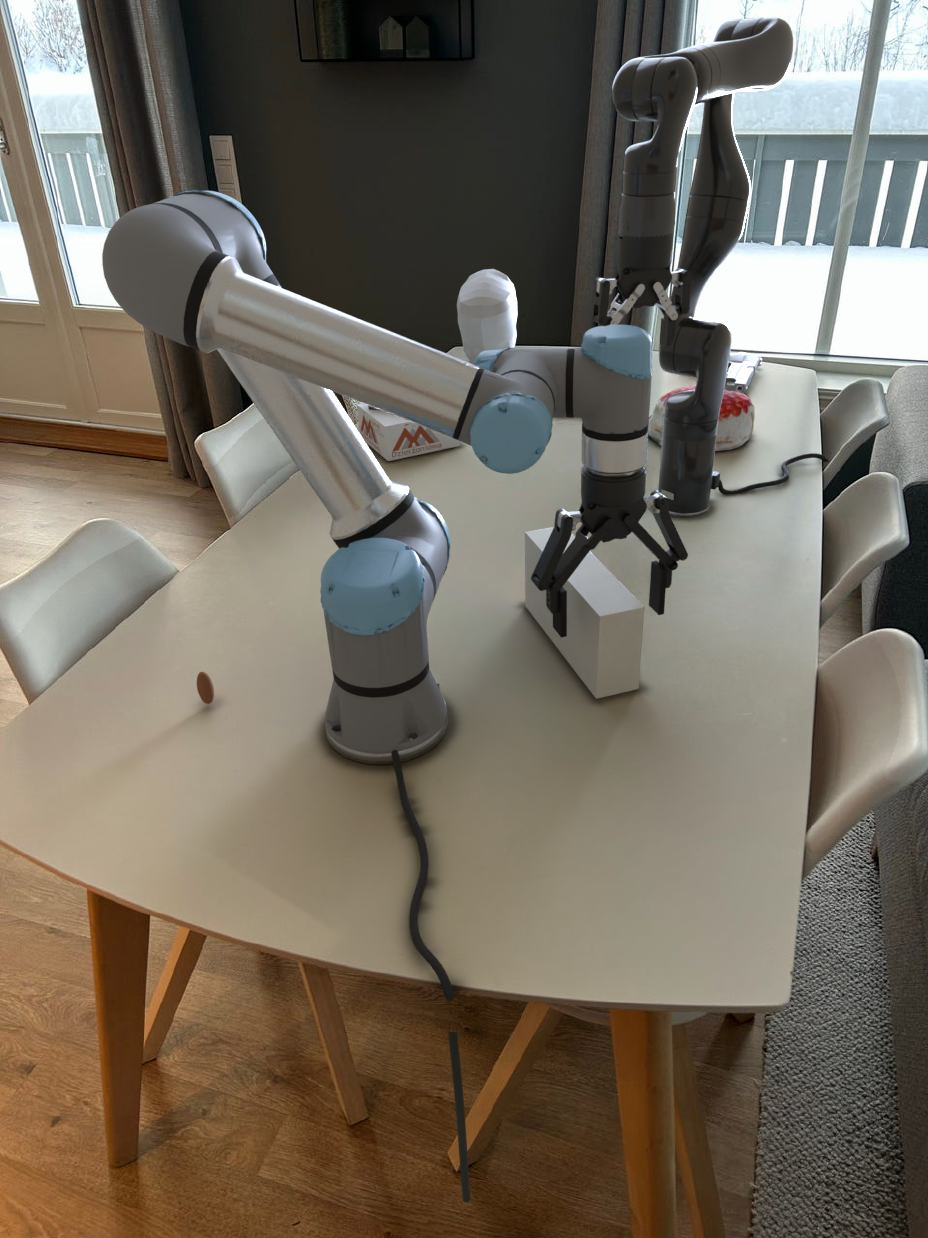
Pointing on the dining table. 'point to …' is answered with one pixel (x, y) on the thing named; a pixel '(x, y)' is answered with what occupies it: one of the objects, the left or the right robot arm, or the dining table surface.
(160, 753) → the dining table surface
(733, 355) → the pistol
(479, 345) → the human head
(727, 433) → the cake
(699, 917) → the dining table surface
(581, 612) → the box
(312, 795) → the dining table surface
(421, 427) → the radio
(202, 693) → the brown disc
